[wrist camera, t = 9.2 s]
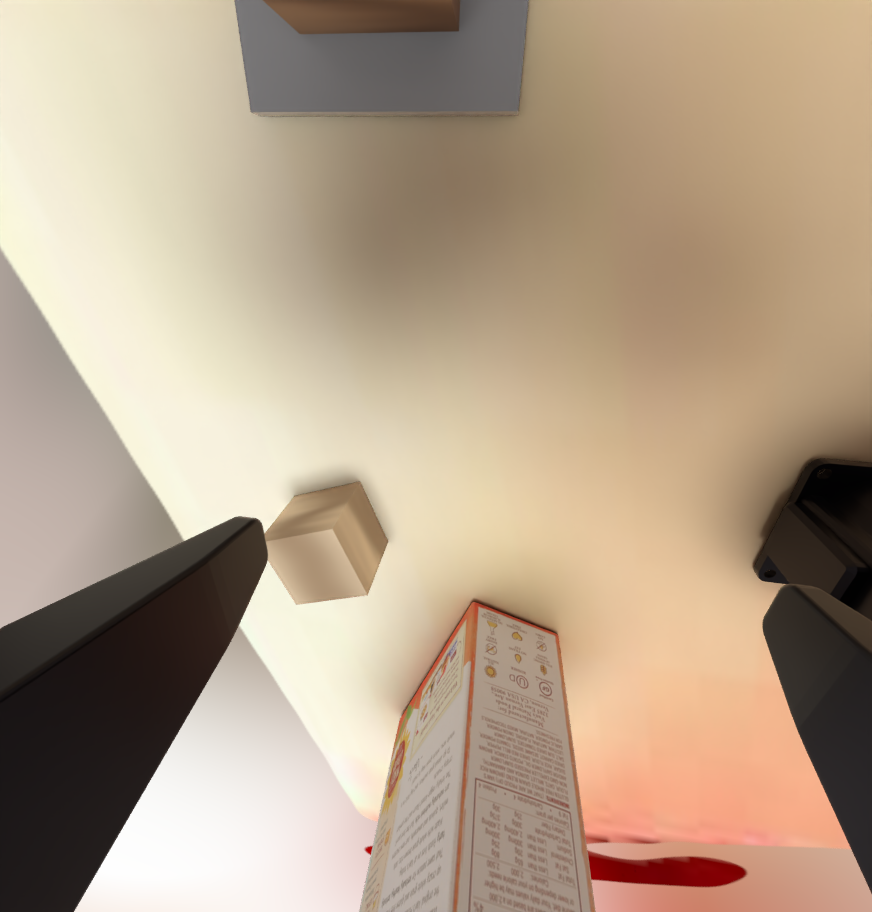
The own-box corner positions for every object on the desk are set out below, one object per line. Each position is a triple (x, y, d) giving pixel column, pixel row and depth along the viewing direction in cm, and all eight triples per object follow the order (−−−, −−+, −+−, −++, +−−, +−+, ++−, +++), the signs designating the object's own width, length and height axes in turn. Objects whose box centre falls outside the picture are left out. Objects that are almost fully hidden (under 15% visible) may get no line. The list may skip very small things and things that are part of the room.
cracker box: (472, 743, 32) (422, 1438, 14) (398, 714, 31) (244, 1385, 13) (568, 632, 25) (727, 1754, 7) (473, 595, 24) (366, 1657, 6)
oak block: (360, 480, 22) (332, 528, 18) (388, 540, 24) (367, 595, 20) (295, 495, 23) (257, 543, 20) (326, 551, 25) (296, 604, 21)
